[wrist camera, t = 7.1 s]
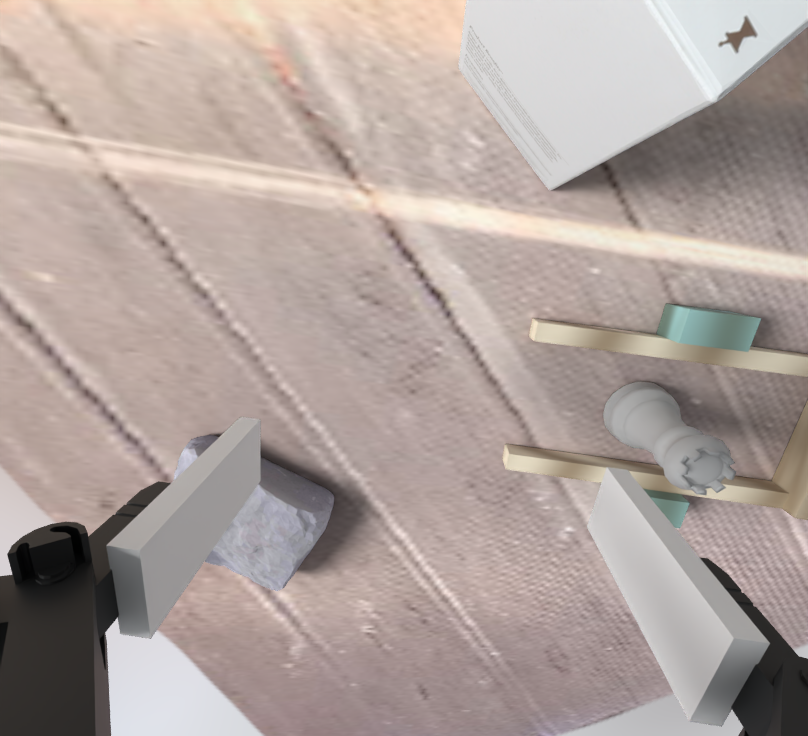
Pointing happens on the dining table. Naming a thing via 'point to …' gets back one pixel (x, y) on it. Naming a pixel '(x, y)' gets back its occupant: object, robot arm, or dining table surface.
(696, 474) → the rook chess piece
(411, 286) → the dining table surface
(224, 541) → the stone block
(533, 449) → the beam track
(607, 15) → the supplement box
